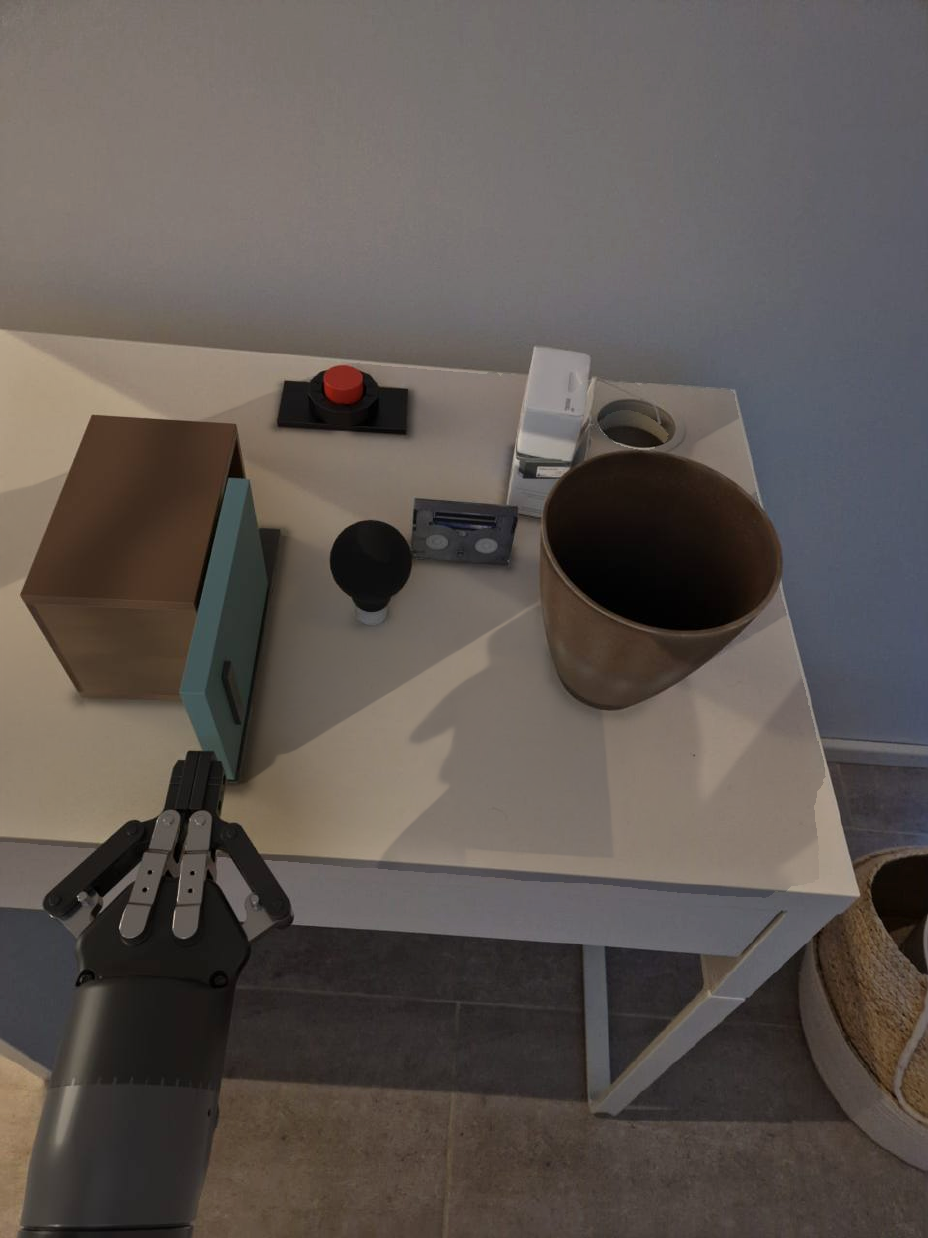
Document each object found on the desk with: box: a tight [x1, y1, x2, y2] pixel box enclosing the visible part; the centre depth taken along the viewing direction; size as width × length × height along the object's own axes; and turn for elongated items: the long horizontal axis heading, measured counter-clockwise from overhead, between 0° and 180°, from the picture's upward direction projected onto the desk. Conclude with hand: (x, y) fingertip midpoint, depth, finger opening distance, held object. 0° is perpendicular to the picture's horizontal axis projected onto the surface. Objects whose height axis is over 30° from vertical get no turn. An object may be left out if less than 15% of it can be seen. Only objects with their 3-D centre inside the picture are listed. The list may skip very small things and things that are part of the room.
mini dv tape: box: [410, 497, 519, 567], centre depth 64 cm, size 8×2×6 cm, turn 89°
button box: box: [276, 369, 409, 436], centre depth 75 cm, size 12×6×2 cm, turn 91°
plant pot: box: [539, 449, 784, 711], centre depth 55 cm, size 15×15×16 cm
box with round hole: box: [571, 375, 662, 468], centre depth 74 cm, size 14×8×5 cm, turn 170°
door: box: [179, 478, 268, 780], centre depth 53 cm, size 2×17×11 cm, turn 1°
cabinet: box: [19, 414, 282, 787], centre depth 55 cm, size 12×23×12 cm, turn 1°
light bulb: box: [329, 519, 413, 626], centre depth 58 cm, size 6×6×10 cm
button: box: [324, 364, 363, 404], centre depth 74 cm, size 4×4×2 cm
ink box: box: [506, 345, 592, 519], centre depth 68 cm, size 8×5×12 cm, turn 172°
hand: (203, 756), depth 46 cm, fingers closed
